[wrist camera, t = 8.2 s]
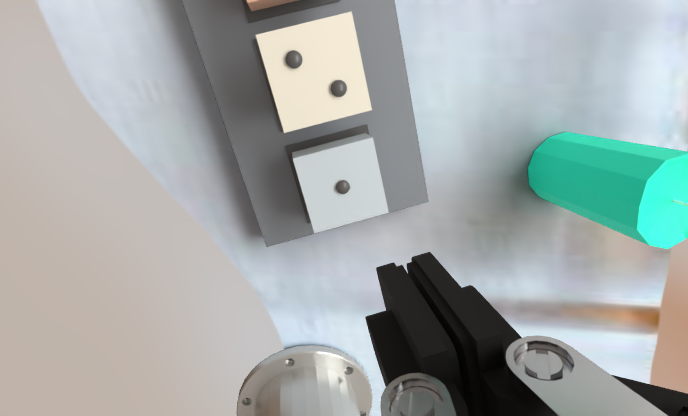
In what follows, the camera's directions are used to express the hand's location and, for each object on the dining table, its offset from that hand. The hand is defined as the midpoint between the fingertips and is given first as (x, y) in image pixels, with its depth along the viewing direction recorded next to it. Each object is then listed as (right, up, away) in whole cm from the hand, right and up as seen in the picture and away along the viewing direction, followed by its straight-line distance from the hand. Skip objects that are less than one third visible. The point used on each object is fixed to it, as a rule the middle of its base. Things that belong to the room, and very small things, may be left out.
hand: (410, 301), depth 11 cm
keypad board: (-4, +12, +16) cm, 20 cm away
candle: (+17, +6, +21) cm, 27 cm away
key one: (-2, +5, +15) cm, 16 cm away
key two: (-4, +11, +11) cm, 16 cm away
